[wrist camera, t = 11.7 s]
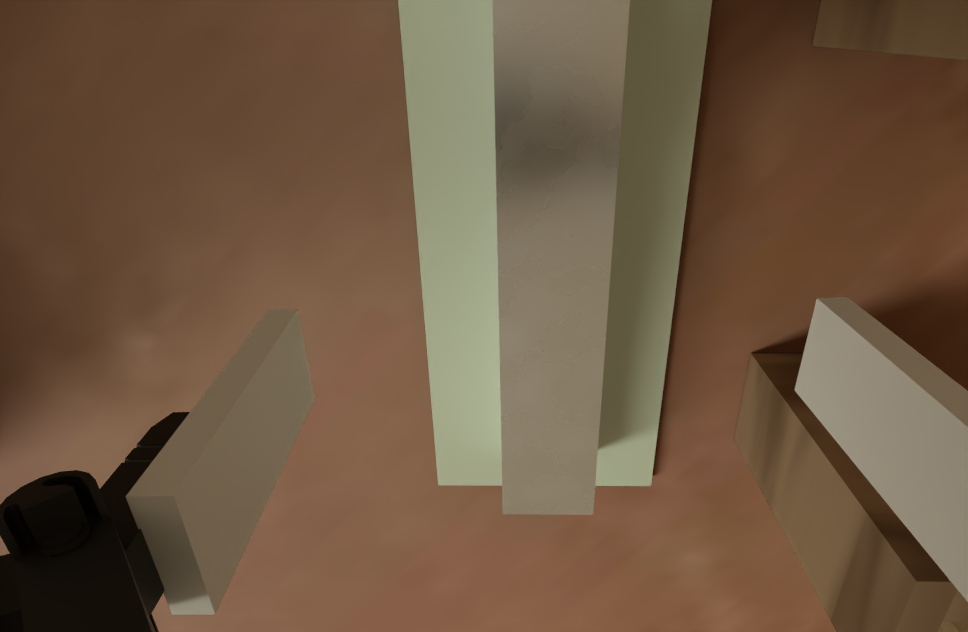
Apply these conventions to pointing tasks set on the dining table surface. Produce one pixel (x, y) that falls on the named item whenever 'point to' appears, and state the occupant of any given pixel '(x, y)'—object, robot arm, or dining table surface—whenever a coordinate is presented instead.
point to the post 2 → (836, 513)
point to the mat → (473, 227)
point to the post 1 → (895, 27)
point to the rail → (555, 239)
